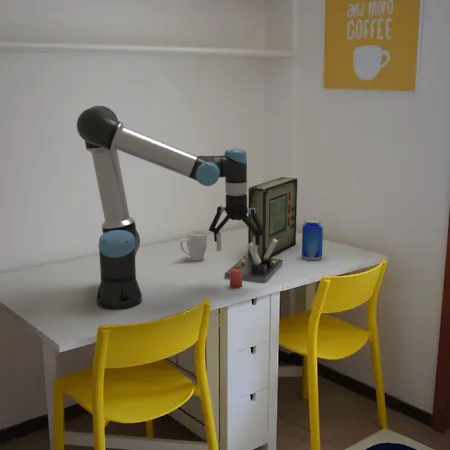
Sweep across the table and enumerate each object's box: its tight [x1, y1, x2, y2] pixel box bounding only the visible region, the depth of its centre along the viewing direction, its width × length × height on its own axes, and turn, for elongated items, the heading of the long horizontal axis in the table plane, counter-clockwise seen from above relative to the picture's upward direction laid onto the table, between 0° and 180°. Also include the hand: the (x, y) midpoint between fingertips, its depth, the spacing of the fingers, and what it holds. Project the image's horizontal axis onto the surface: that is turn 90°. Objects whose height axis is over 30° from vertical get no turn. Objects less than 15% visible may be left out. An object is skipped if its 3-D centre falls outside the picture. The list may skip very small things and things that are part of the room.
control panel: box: [247, 176, 298, 258], centre depth 268 cm, size 30×8×30 cm, turn 148°
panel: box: [224, 255, 284, 284], centre depth 244 cm, size 24×16×5 cm, turn 160°
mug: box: [179, 230, 208, 262], centre depth 257 cm, size 12×8×11 cm
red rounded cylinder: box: [229, 269, 243, 289], centre depth 227 cm, size 4×4×6 cm
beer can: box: [301, 218, 324, 261], centre depth 260 cm, size 8×8×16 cm
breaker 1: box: [247, 242, 261, 266], centre depth 235 cm, size 3×2×8 cm, turn 160°
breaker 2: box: [264, 239, 278, 260], centre depth 241 cm, size 3×2×8 cm, turn 160°
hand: (236, 252), depth 224 cm, fingers open, 13 cm apart
